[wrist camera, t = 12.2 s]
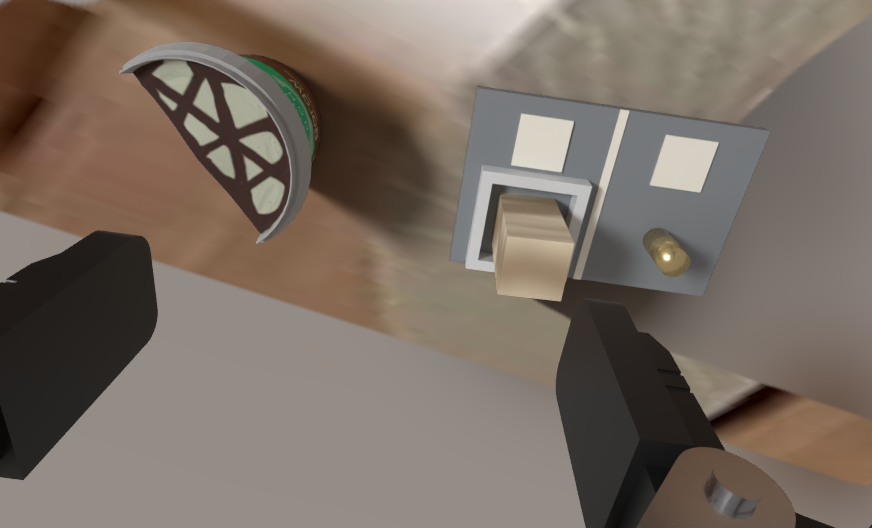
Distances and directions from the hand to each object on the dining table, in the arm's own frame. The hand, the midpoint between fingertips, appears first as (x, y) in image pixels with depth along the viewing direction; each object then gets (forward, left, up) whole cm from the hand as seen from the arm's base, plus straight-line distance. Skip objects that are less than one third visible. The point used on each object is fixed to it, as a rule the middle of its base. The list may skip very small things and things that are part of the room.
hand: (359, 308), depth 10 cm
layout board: (+6, +13, -30) cm, 33 cm away
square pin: (+9, +8, -29) cm, 31 cm away
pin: (+9, +18, -29) cm, 35 cm away
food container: (+3, -10, -30) cm, 32 cm away
